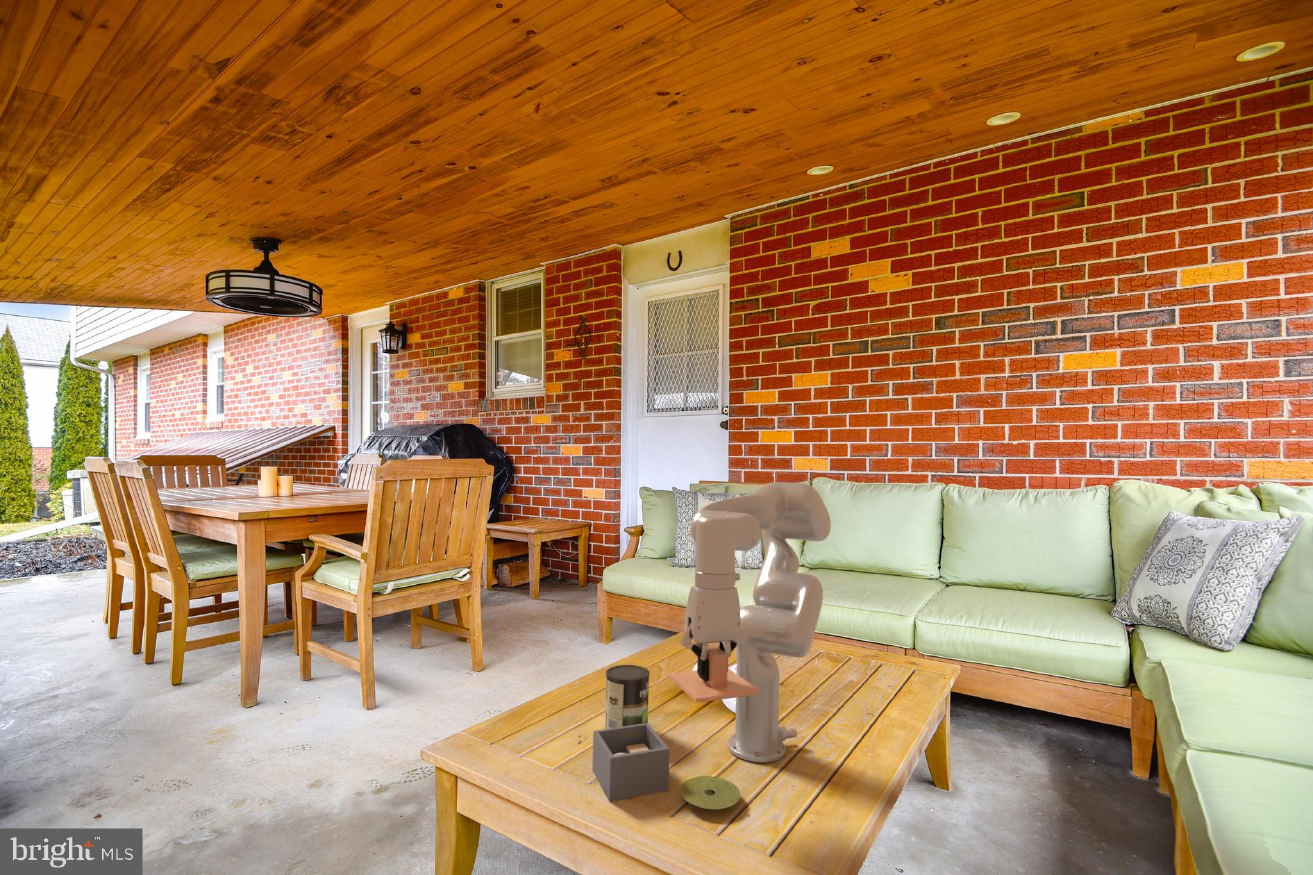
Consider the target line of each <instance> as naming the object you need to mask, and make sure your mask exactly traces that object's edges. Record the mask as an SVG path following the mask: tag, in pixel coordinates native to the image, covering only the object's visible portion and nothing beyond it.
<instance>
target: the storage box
mask: <svg viewBox="0 0 1313 875" xmlns="http://www.w3.org/2000/svg"><path fill="white" fill-rule="evenodd" d="M592 737H593V738H592V740H593V741H592V768H591V769H592V773H593V774H594V776H595V778H596V780H597V782H598V783H599V785H600V787H601V788H602V790H603V792H604V794H605V797H606V798H607V800H608V802H609V801H611V802H615V801H614V800H616V801H621V800H626V799H630V798H631V799H632V798H636V797H641V796H647V795H652V794H656V793H662V792H667V791H668V792H669V786H670V783H669V781H670V776H669V775H670V748H669V746H668V745H667V744H666V743H665V742H664V740H663V739H662V738H661V736H660V735H659V734H658V733H657V732H656V730H655V729H654V728H653V727H652V726H651V725H650V724H649V722H648V723H643V724H636V725H630V726H623V727H616V728H609V729H605V728H603V729H597V730H593V734H592Z"/></svg>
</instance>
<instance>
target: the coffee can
mask: <svg viewBox="0 0 1313 875" xmlns="http://www.w3.org/2000/svg"><path fill="white" fill-rule="evenodd" d="M605 680H606V681H605V718H604V720H605V721H604V729H609V728H616V727H623V726H630V725H636V724H643V723H649V690H650V689H649V684H650V683H649V682H650V670H649V669H648V668H646V667H645V666H641V665H640V666H639V665H635V664H619V665H614V666H611V667H609V668H607V670H606V671H605Z"/></svg>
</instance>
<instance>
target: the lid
mask: <svg viewBox="0 0 1313 875" xmlns="http://www.w3.org/2000/svg"><path fill="white" fill-rule="evenodd" d="M707 659H708V660H709V681H707V682H705V681H704V680H702V679H701V678H700V677H699V675H698V673H697V669H696V670H689V671H679V672H671V673H670V672H669V673H667V674H668V678H669V679H670V680H671V681H673V682H674V684H676V685H677V686H678V687H679V688H680V689H681V690H682V691H683V692H685V694H686V695H688V696H689V697H690V698H691V699H692V700H693V701H695V702H696V703H705V702H714V701H720V700H721V701H722V700H729V699H736V697H743V696H748V695H753V694H759V690H758V689H757V688H755V687H754V686H753V685H751V684H750V683H748V682H747V681H746V680H744V679H743V678H741V677H740V676H739V675H737V672H736V673H735V672H734V671H733V670H731V669H730V668H729V667H728V672H727V664H728V665H729V658H728V654H727V653H725V652H724V651H722V650H721V649H719V646H717V645H715V644H714V643H710V644H708V652H707Z"/></svg>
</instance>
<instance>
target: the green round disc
mask: <svg viewBox="0 0 1313 875" xmlns="http://www.w3.org/2000/svg"><path fill="white" fill-rule="evenodd" d="M680 794H681V796H682V798H683V799H684V800H685V801H686V802H688V803H689V804H691V805H693V806H696V807H698V808H700V809H705V810H709V809H710V810H723V809H726V808H730V807H732V806H734V805H735V804H737V802H738V801H739V800H740V797H741V792H740V789H739V788H738V787H737V785H735V784H734V783H733V782H732V781H729V780H727V779H725V778H723V777H722V778H721V777H717V776H712V775H710V776H709V775H699V776H693V777H691V778H689V779H687V780H685V781H684V782H683V783H682V785H681V786H680Z"/></svg>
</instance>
